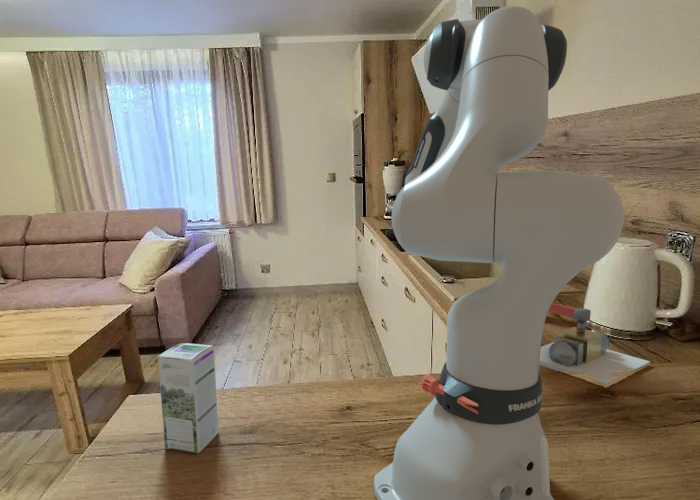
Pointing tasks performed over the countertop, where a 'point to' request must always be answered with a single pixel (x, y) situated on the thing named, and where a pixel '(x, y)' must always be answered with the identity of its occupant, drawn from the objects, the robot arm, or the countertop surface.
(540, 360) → the mounting board
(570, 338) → the valve
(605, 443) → the countertop surface
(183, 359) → the syrup box
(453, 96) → the robot arm
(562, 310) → the lever
